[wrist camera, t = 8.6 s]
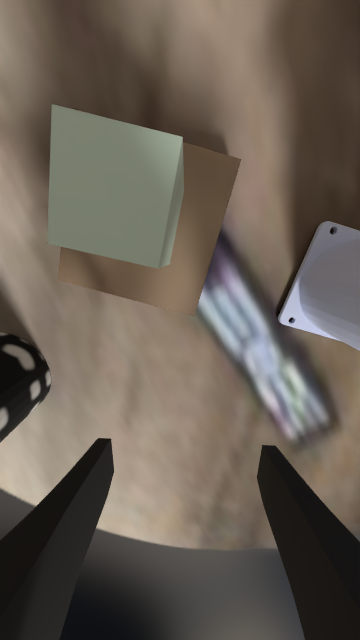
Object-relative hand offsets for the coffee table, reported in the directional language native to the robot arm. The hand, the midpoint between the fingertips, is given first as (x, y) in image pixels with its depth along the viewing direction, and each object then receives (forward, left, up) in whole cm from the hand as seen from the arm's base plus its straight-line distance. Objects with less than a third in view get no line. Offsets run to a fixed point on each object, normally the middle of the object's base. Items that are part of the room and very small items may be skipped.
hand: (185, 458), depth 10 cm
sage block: (+6, -10, -7) cm, 14 cm away
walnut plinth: (+6, -10, -10) cm, 15 cm away
